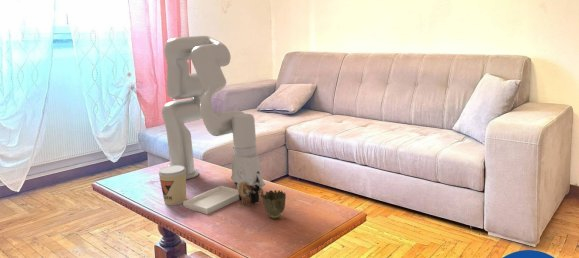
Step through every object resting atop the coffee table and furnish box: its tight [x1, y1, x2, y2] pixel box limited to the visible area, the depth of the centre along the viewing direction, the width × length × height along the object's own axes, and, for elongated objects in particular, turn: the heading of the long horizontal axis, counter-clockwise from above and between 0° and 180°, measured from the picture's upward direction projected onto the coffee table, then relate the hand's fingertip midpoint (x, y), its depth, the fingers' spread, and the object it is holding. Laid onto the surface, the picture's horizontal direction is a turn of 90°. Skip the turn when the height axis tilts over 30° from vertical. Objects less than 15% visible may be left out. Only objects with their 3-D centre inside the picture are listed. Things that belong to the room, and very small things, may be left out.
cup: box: [262, 190, 287, 220], centre depth 145 cm, size 8×7×8 cm
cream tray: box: [182, 185, 240, 215], centre depth 161 cm, size 12×18×2 cm, turn 142°
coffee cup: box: [158, 165, 187, 206], centre depth 163 cm, size 9×9×12 cm
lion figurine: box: [237, 182, 265, 206], centre depth 159 cm, size 15×5×9 cm, turn 161°
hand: (249, 200), depth 158 cm, fingers closed on lion figurine, 5 cm apart
